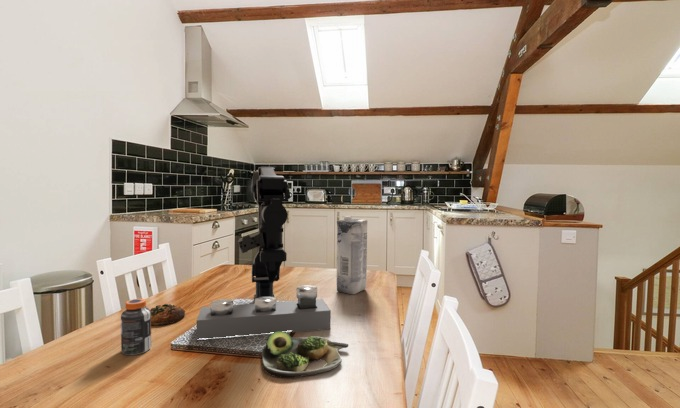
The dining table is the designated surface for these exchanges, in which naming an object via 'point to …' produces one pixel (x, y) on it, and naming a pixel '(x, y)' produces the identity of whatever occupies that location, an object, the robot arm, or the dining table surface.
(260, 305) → the plunger middle
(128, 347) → the pill bottle
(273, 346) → the salad plate
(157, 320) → the bread roll
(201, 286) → the dining table surface
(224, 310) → the plunger
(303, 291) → the plunger
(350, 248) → the juice carton
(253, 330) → the console
